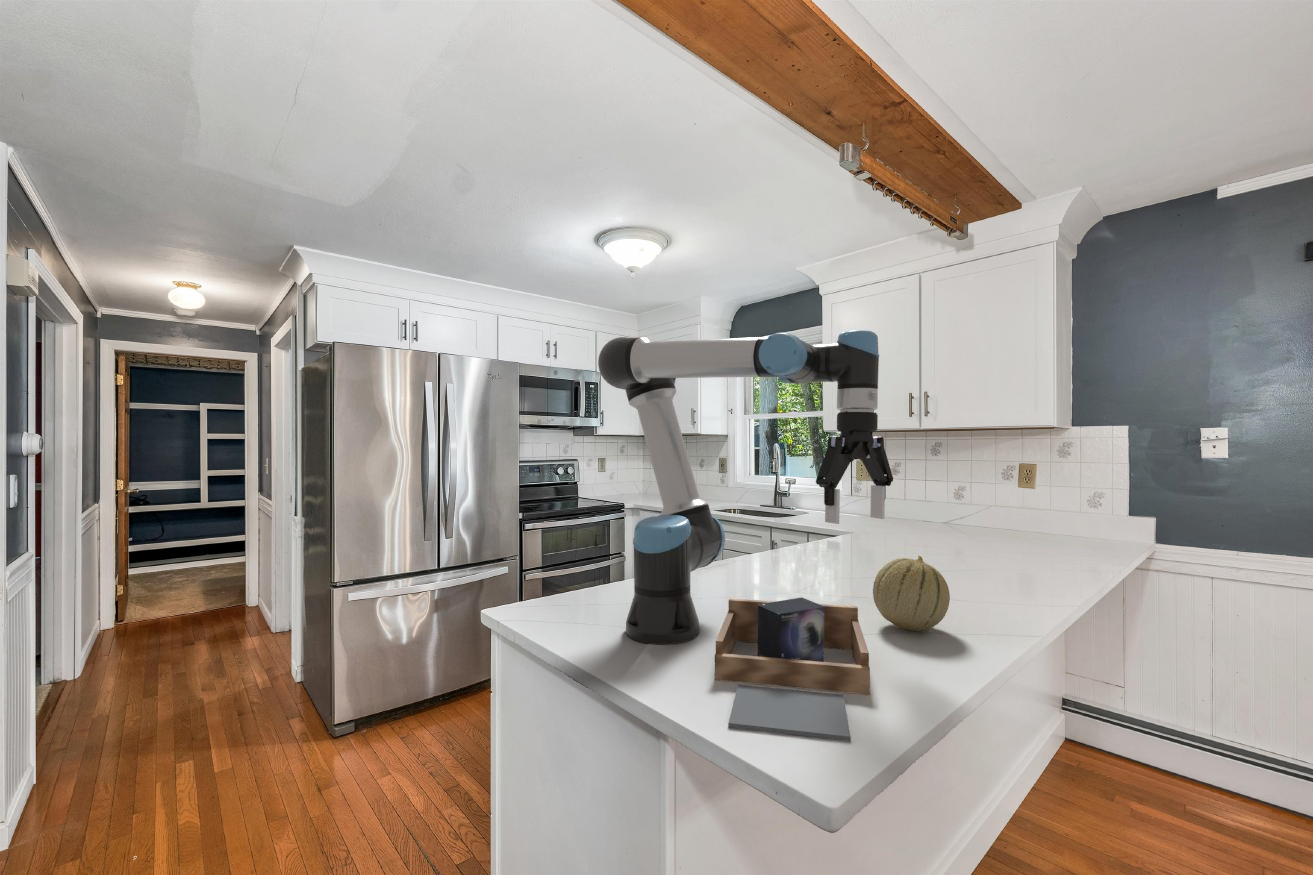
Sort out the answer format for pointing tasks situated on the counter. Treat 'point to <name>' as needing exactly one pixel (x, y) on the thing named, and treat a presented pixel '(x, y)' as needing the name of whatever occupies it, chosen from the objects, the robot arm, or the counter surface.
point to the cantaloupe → (911, 594)
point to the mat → (790, 712)
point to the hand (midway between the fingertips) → (855, 520)
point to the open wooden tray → (788, 672)
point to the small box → (791, 630)
